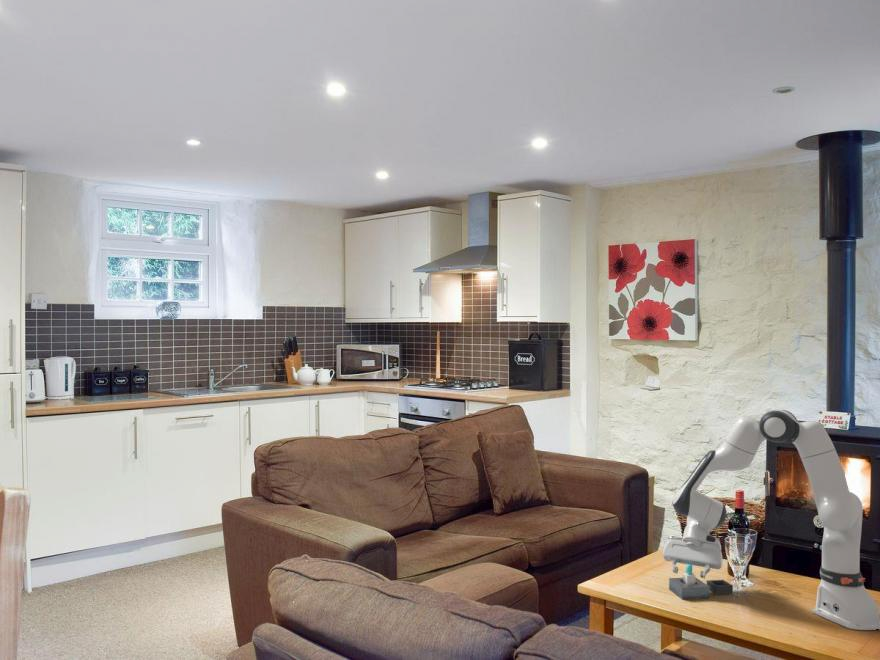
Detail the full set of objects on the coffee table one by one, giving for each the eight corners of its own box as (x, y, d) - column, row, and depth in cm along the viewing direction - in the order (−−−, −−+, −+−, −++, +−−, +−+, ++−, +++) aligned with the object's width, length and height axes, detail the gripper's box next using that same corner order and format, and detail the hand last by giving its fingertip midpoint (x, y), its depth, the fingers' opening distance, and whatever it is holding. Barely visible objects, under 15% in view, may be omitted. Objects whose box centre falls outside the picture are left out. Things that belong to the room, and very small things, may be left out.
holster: (732, 594, 264) (732, 585, 264) (715, 594, 263) (715, 586, 263) (723, 588, 270) (723, 579, 270) (706, 588, 269) (706, 580, 269)
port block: (709, 598, 260) (709, 586, 260) (681, 599, 258) (682, 587, 258) (695, 588, 270) (695, 577, 270) (669, 589, 268) (669, 578, 268)
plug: (695, 595, 263) (695, 566, 263) (687, 595, 262) (687, 566, 262) (691, 592, 266) (691, 563, 266) (683, 592, 265) (683, 564, 265)
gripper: (664, 531, 275) (657, 564, 267) (723, 539, 265) (717, 575, 256) (668, 540, 279) (660, 574, 271) (725, 549, 268) (720, 584, 260)
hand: (688, 574), depth 263 cm, fingers open, 8 cm apart
